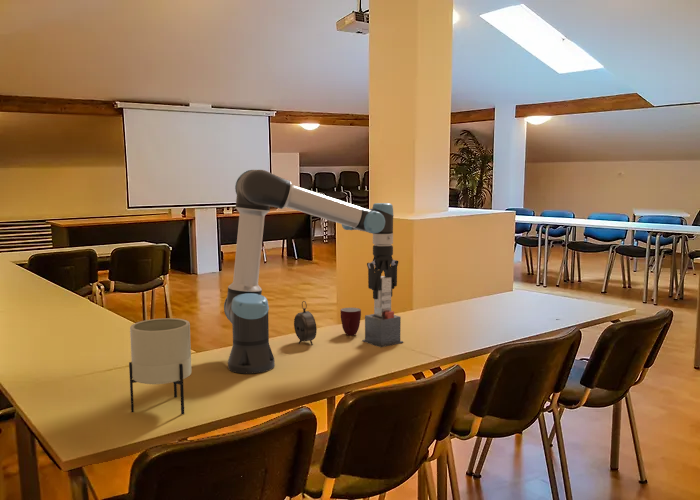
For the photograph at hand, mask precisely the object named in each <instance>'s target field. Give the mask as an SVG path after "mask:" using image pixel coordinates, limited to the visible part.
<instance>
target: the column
mask: <svg viewBox="0 0 700 500" xmlns="http://www.w3.org/2000/svg"><path fill="white" fill-rule="evenodd" d="M379 290H380V308H376V307H374V306H373V310H374V311H373V314H374V317H377V318H380V319H383V318H385V312H387V311H392V297H391V277H386V276H385V275H381V278H380V285H379Z"/></svg>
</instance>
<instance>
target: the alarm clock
mask: <svg viewBox="0 0 700 500" xmlns="http://www.w3.org/2000/svg"><path fill="white" fill-rule="evenodd" d="M304 303H305V308H304V306H303V304H304ZM301 308H302V311H300V312H298V313H296V314H295V317H294V319H293V326H294V327H293V328H294V332H295V335H296V337H297V339H298V340H299V341H298V345H301V342H304V343H305V342H309V343H310V345H311V346H314V344H313V340H314V339H315V338H316V336H317V331H318V330H317V329H318V328H317V323H316V319H315V316H314V315H313V313H312V312H310V311H307V310H306V309H307V302H306V301H304V300H303V301H302V302H301Z"/></svg>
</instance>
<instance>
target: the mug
mask: <svg viewBox="0 0 700 500" xmlns="http://www.w3.org/2000/svg"><path fill="white" fill-rule="evenodd" d="M361 317H362V309H361V308H358V307H344V308H340V322H341V326H342V330H343V332H344V333H345V335H346V336H349V337H350V336H356V334H357V333H358V331H359V329H360V323H361V319H362V318H361Z"/></svg>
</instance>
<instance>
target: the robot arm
mask: <svg viewBox="0 0 700 500" xmlns="http://www.w3.org/2000/svg"><path fill="white" fill-rule="evenodd" d="M234 189H235V194H236V199H235V209H236V210H237V211H238V213H239V215H238V227H237V237H236V238H237V239H236V246H235V247H236V248H235V257H234V259H235V260H234V269H233V277H232V279H233V280H232V282H231V284H229V285H228V286H227V295H226V298H225V300H224V303H223V310H224V311H223V312H224V314H225V316H226V319H227V320H228V321H229V322H230V323H231V324H232V325H231V326H232V348H231V350H230V352H229V356H228V360H227V369H228V370H229V371H230V372H232V373H237V374H245V375H246V374H247V375H248V374H249V375H250V374H259V373H265V372H267V371H270V370H272V369H274V368H275V365H276V364H275V356H274V353H273V352H272V348H271V345H270V339H269V338H270V337H269V336H270V333H269V330H270V329H269V328H270V327H269V310H270V307H269V301H268V299H267V297H266V296H264V295H262V290H263V289H262V287H261V286H260V285H259V280H260V279H259V277H260V267H261V259H262V248H263V247H262V246H263V238H264V237H263V235H264V226H265V216H266V215H267V214H269V212H270V211H271V207H274V208H277V209H281V210H283V209H286V208H288V209H291V210H294V211H297V212H301V213H304V214H307V215H311V216H314V217H317V218H320V219H324V220H327V221H330V222H334V223H337V224H340V225H341V227H342V228H343V229H344V231H360V232H366V233H369V234H372V244H373V246H372V255H373V258H372V261H371V262H367V263H366V266H367V270H368V271H367V273H368V274H367V275H368V276H367V278H368V281H367V282H368V285H367V287H368V289H369V290H372V298H373V301H374V305H373V308H374V307H376V308H380V290H379V285H380V278H381V276H382V274H383V273H384V276H386V277H391V298H392V297H393V290H394V289H395V288H396V287H397V286H398V266H399V260H396V259H394V258H393V256H394V245H393V244H394V207H393V204H392V203H389V202H376V203H373V204H372V208H364V207H361V206H359V205H355V204H352V203H350V202H346V201H344V200H341V199H337V198H334V197H331V196H327V195H324V194H322V193H319V192H316V191H313V190H309V189H306V188H303V187H300V186H297V185H294V184H293V183H292V181H291V180H288V179H285V178H283V177H280V176H278V175H276V174H275V173H274V174H273V173H272V172H269V171H267V170H264V169H249V170H246V171H244V172H243V173H241V174H240V175H239V176H238V178H237V179H236V181H235V188H234Z"/></svg>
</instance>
